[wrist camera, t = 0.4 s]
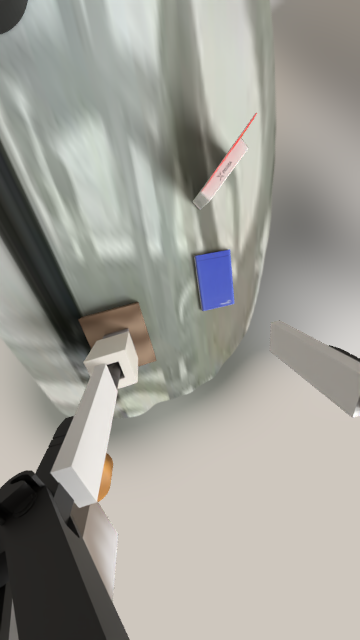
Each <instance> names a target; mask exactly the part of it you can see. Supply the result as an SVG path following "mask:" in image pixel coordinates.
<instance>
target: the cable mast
mask: <svg viewBox="0 0 360 640" xmlns="http://www.w3.org/2000/svg"><path fill="white" fill-rule="evenodd" d="M79 322H80V324H81V327H82V329H83V331H84V333H85V336H86V338H87V340H88V342H89V345H90V347H91V349H92V348H93V346H94V344H95V343H96V341H98V340H101V339H105V338H108V337H111V336H115V335H118V334H122V333H125V332H129V334H130V337H131V339H132V342H133V345H134V348H135V351H136V354H137V356H138V366H141V365H144V364H148V363H151V362H154V361H156V357H155V353H154V350H153V347H152V344H151V341H150V338H149V334H148V331H147V328H146V325H145V322H144V319H143V315H142V312H141V309H140V306H139V303H138V302H135V303H132V304H128V305H124V306H121V307H117V308H113V309H109V310H106V311H102V312H98V313H95V314H91V315H87V316H84V317H81V318H80V319H79ZM107 367H108V369H109V372H110V374H111V377H112V379H113V382H114V384H115V386H116V389H117V388H118V383H119V378H120V372H121V366H120V364H119V361H118V362H115V363H112V364H108V365H107ZM112 468H113V461H112V458H111V457H110V456H109V455H108V454H107V453H106V456H105V461H104V467H103V472H102V478H101V483H100V488H99V494H98V499H97V502H96V503H93V504H90V505H87V506H84V507H81V508H79V507H78V506H77V505H76V504H75V502H74V503H73V506H72V510H71V515H72V516H73V518H74V520H75V522H76V525H77V527H78V529H79V531H80V533H81V535H82V538H83V540H84V542H85V544H86V546H87V548H88V551H89V553H90V555H91V557H92V559H93V561H94V564H95V566H96V568H97V570H98V572H99V574H100V577H101V579H102V581H103V583H104V585H105V587H106V590H107V592H108V594H109V596H110V598H111V600H112V601H113V590H114V579H115V565H116V554H117V543H118V533H117V531H116V530H115V528H114V527H113V525H112V523H111V522H110V520H109V519H108V517H107V516H106V514H105V512H104V511H103V509H102V508H101V506H100V504H99V503H98V502H99V501H100V500H102V499H103V498H104V497H105V496H106V494H107V493H108V491H109V489H110V484H111V476H112ZM112 603H113V602H112ZM9 640H19V639H18V632H17V626H16V619H15V612H14V606H13V599H12V610H11V620H10V631H9Z"/></svg>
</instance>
